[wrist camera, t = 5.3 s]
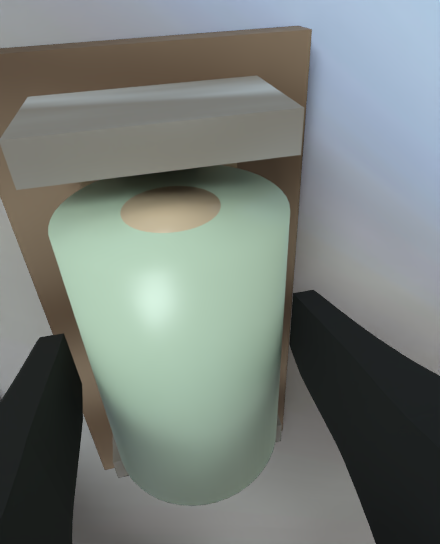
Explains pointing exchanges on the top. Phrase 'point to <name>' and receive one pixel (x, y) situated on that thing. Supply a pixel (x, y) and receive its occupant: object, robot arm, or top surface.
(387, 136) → the top surface
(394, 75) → the top surface
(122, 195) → the roll
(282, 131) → the holder
